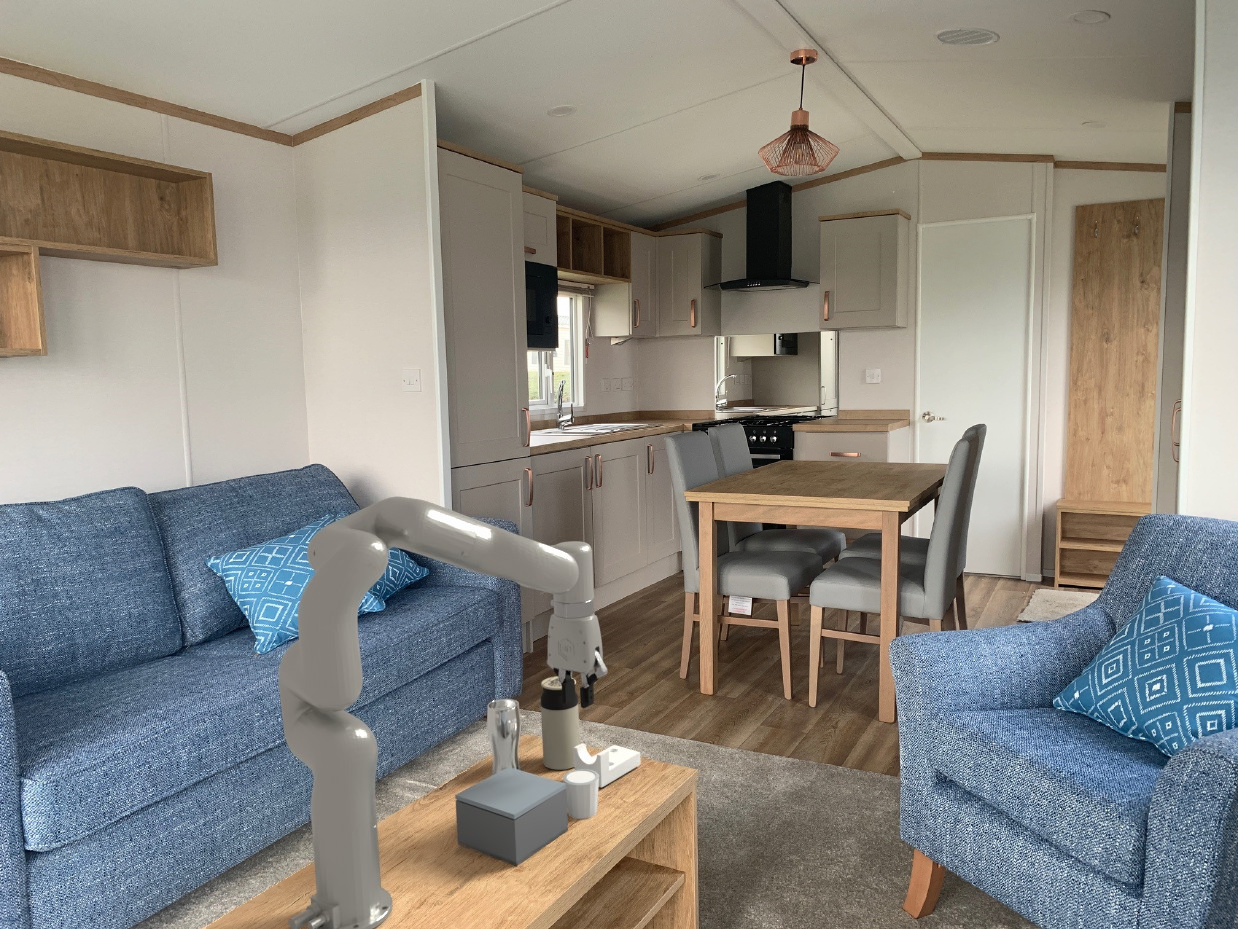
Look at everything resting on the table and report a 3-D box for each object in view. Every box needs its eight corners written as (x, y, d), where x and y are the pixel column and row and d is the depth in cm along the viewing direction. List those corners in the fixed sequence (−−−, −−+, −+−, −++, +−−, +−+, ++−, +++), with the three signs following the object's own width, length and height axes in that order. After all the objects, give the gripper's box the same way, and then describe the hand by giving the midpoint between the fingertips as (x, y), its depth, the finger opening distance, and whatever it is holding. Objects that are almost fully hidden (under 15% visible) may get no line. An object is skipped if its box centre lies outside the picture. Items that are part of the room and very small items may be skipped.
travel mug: (587, 759, 189) (584, 678, 187) (567, 774, 182) (564, 690, 181) (556, 752, 193) (553, 673, 191) (536, 767, 186) (532, 685, 184)
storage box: (516, 866, 147) (514, 821, 147) (457, 844, 155) (455, 800, 155) (568, 830, 159) (566, 788, 158) (510, 811, 167) (508, 771, 166)
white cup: (604, 804, 168) (603, 769, 167) (595, 822, 161) (594, 786, 161) (570, 802, 170) (568, 767, 169) (559, 819, 163) (558, 783, 162)
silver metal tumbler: (509, 763, 188) (506, 696, 187) (529, 772, 183) (526, 703, 182) (483, 774, 183) (479, 705, 182) (503, 784, 178) (499, 713, 177)
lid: (514, 819, 147) (514, 814, 146) (455, 799, 155) (455, 795, 154) (566, 788, 158) (566, 784, 158) (508, 771, 166) (508, 767, 166)
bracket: (601, 792, 174) (600, 755, 173) (575, 783, 178) (573, 747, 178) (640, 768, 184) (639, 734, 183) (614, 760, 188) (613, 726, 188)
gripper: (527, 607, 164) (531, 702, 165) (598, 618, 154) (602, 718, 156) (552, 599, 170) (556, 690, 171) (622, 609, 160) (625, 705, 162)
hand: (578, 703), depth 164 cm, fingers open, 3 cm apart
